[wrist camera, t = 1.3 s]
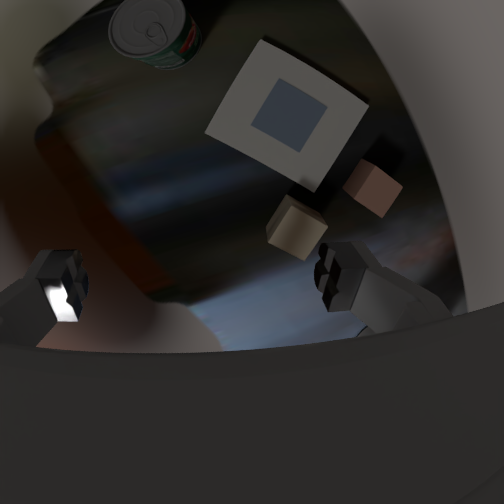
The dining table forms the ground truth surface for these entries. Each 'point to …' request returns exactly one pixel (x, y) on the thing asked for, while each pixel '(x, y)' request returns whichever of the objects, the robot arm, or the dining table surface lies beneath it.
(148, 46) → the canned tomato
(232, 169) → the dining table surface
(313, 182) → the white flat square slab
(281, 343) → the dining table surface
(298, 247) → the birch block
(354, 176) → the terracotta block
